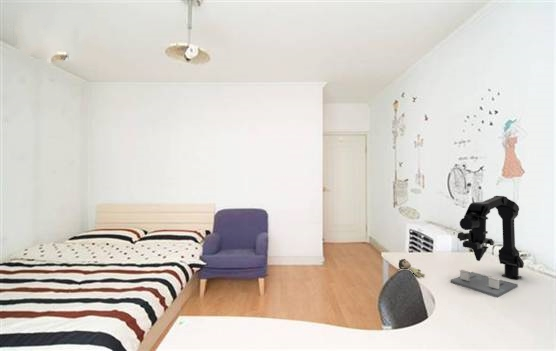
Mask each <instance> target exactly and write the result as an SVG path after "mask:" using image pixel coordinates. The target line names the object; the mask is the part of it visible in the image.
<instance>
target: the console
mask: <svg viewBox="0 0 556 351" xmlns="http://www.w3.org/2000/svg"><path fill="white" fill-rule="evenodd" d="M469 272H470V280H469V281H467V280H463V279H460V276H458V277H455V278H452V279H450V280H449V282H450V283H451V284H454V285H457V286H460V287H464V288H467V289H470V290H473V291H476V292H478V293H481V294H485V295H488V296H491V297H494V298H499V297H501V296H503V295H504V294H507V293H509V292H511V291H513V290H515V289H517V288H518V287H519V285H518V283H515V282H514V283H513V282H510V281H506V280H503V279H500V280H499V289H496V288H492V287H489V279H488V277H492V276H491V275H486V274H481V273H478V272H474V271H469ZM496 278H497V279H499V277H496Z"/></svg>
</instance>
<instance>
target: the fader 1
mask: <svg viewBox="0 0 556 351" xmlns="http://www.w3.org/2000/svg"><path fill="white" fill-rule="evenodd" d="M459 272H460V273H459V274H460V276H459V277H460V279H463V280H467V281H469V280H470V272H471V271H468V270H465V269H460V270H459Z"/></svg>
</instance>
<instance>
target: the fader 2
mask: <svg viewBox="0 0 556 351" xmlns="http://www.w3.org/2000/svg"><path fill="white" fill-rule="evenodd" d="M497 278H498V277H492V276H491V277H488V279H489V287H492V288H496V289H499V280H501V279H499V278H498V279H497Z"/></svg>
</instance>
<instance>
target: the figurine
mask: <svg viewBox="0 0 556 351" xmlns="http://www.w3.org/2000/svg"><path fill="white" fill-rule="evenodd" d="M398 268H399V269H400V270H401V269H409V270H411V271H412V272H413V273H414V274H415V275H414V274H413V273H412V274H413V275H414V276H416V277H417V278H419V279H421V278H425V276H426V275H425V273H422V272H421V269H419V268H414V267H413V266H412V264H411V263H410V261H408V260H407V259H405V258H402V259H399V262H398Z"/></svg>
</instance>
